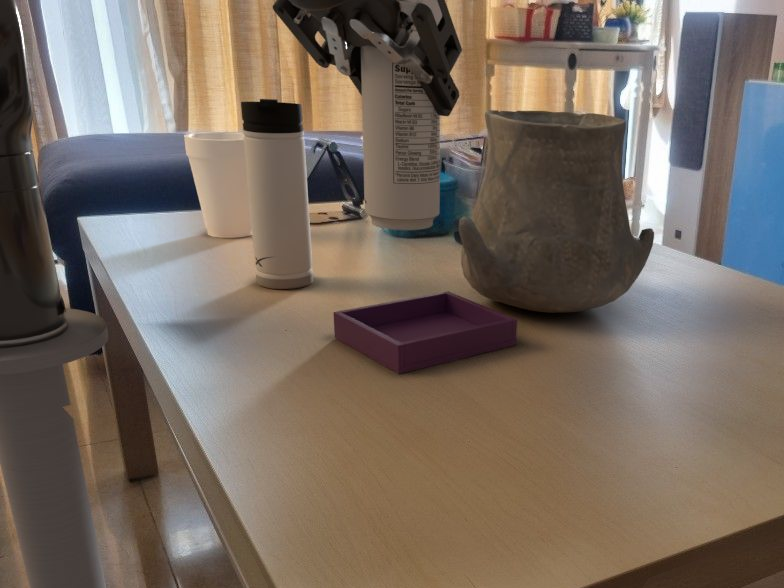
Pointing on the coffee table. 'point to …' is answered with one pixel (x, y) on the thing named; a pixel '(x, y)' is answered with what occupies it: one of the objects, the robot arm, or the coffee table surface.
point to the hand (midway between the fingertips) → (414, 103)
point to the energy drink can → (398, 144)
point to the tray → (424, 330)
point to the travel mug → (278, 193)
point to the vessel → (552, 214)
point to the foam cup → (221, 181)
